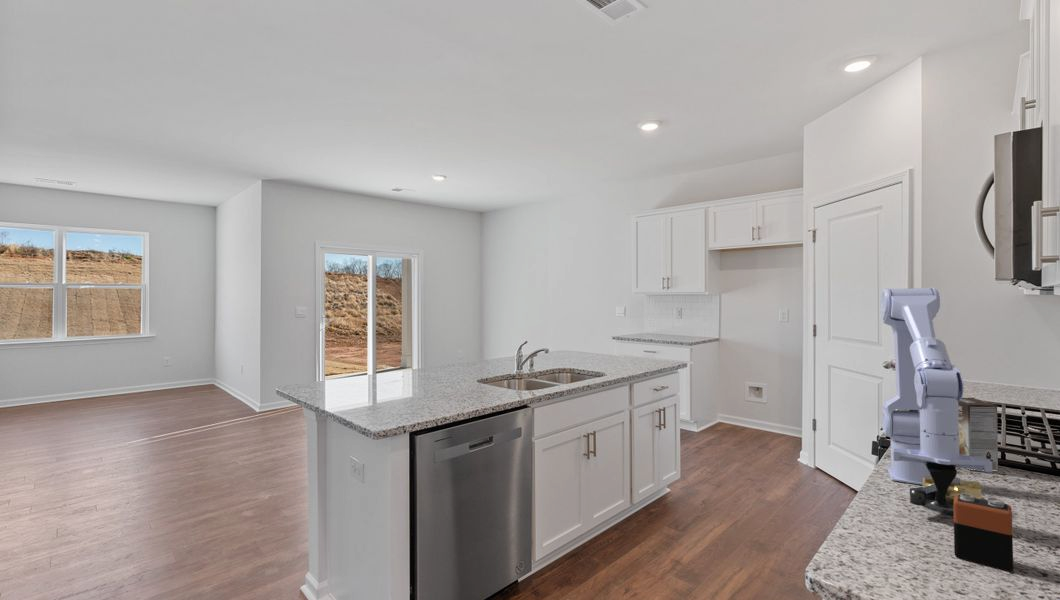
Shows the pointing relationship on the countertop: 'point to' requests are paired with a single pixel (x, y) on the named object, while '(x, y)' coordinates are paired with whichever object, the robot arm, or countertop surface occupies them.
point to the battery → (983, 531)
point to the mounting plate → (941, 507)
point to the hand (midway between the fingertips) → (940, 503)
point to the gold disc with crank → (955, 488)
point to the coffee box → (978, 430)
